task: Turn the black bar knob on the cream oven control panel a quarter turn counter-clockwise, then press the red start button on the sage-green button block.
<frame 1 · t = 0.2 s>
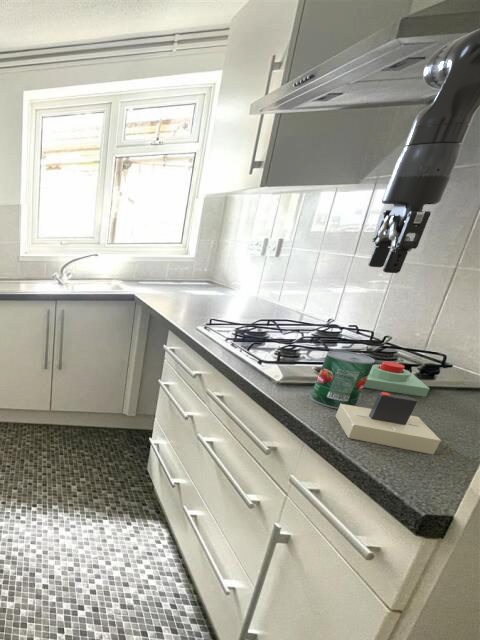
hand: (382, 269, 79), 29 cm above the countertop, tool pointing down, fingers open, 8 cm apart
canned tomato: (331, 402, 94), on the countertop
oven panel: (380, 434, 81), on the countertop
oven knob: (392, 408, 78), point 6 cm above the countertop, hinge at 0.0°
start button: (391, 367, 101), point 4 cm above the countertop, slide at 0.1 cm
button block: (384, 384, 103), on the countertop
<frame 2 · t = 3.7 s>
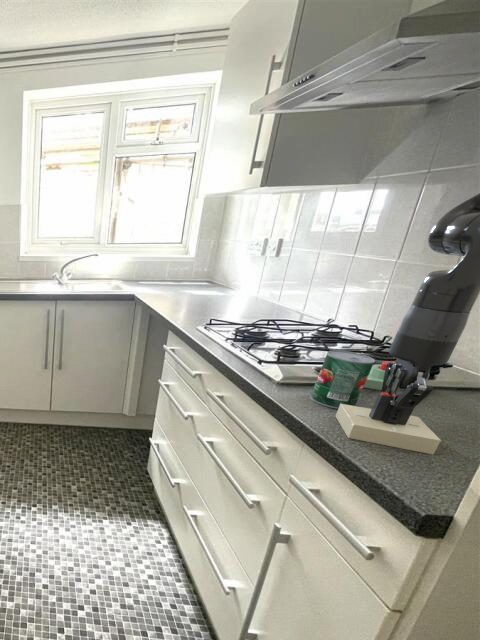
hand: (386, 420, 79), 3 cm above the countertop, tool pointing down, fingers closed
oven knob: (392, 408, 78), point 6 cm above the countertop, hinge at 0.0°, touching gripper
everything else where it was.
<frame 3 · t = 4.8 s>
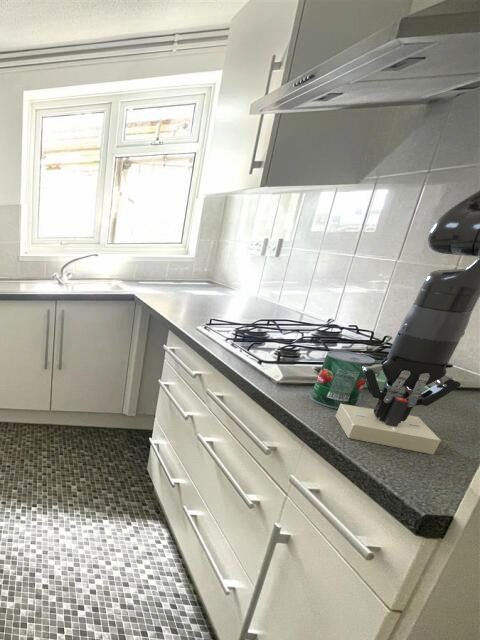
hand: (387, 419, 79), 3 cm above the countertop, tool pointing down, fingers closed on oven knob, 2 cm apart
oven knob: (392, 408, 78), point 6 cm above the countertop, hinge at 90.2°, touching gripper
everything else where it was.
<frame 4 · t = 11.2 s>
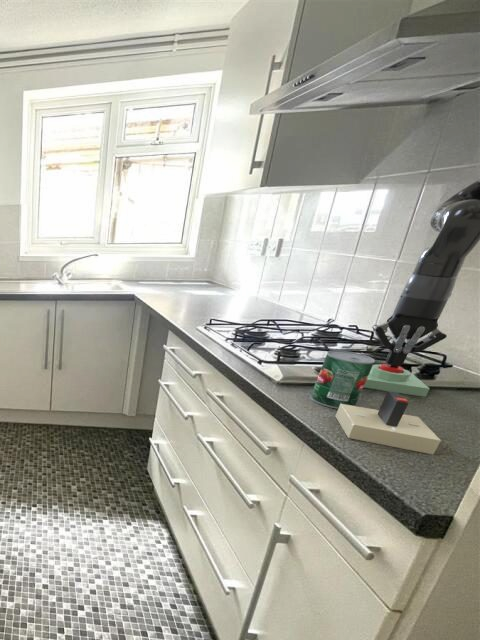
hand: (392, 366, 101), 5 cm above the countertop, tool pointing down, fingers closed
oven knob: (392, 408, 78), point 6 cm above the countertop, hinge at 90.2°
start button: (390, 369, 101), point 4 cm above the countertop, slide at -0.5 cm, touching gripper
everything else where it was.
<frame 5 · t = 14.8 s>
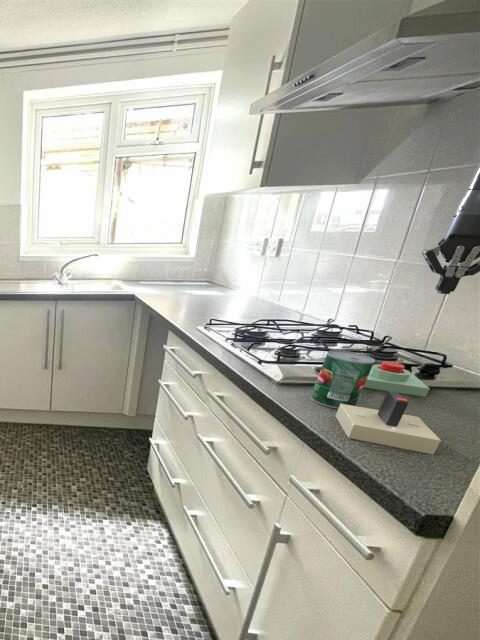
hand: (442, 293, 97), 22 cm above the countertop, tool pointing down, fingers closed
start button: (391, 367, 101), point 4 cm above the countertop, slide at 0.1 cm
everything else where it was.
at the end: oven knob at +90° (first picture: +0°); start button pushed in 1.1 cm at the most during the clip, back to where it started at the end; start button slide at 0.1 cm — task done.
